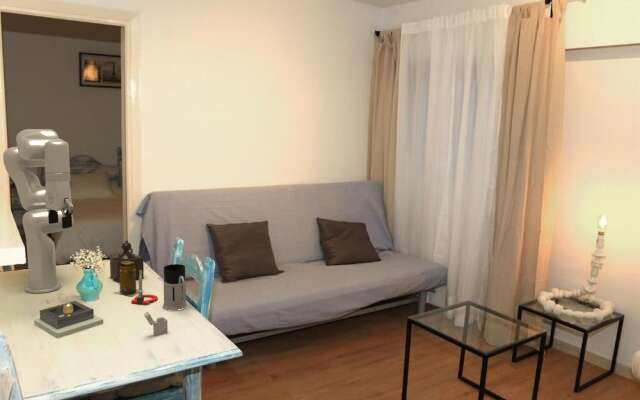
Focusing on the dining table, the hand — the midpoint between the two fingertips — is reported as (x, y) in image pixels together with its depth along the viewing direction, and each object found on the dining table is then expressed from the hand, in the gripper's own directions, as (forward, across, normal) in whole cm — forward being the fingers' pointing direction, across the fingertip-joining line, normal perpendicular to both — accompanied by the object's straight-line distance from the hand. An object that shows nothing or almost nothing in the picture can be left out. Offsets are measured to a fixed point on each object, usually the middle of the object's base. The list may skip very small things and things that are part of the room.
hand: (60, 225), depth 177 cm
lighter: (+30, +43, +8) cm, 53 cm away
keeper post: (+28, +15, -6) cm, 33 cm away
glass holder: (+30, +31, +26) cm, 50 cm away
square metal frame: (+28, +14, -6) cm, 32 cm away
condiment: (+30, +3, +24) cm, 39 cm away
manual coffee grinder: (+31, -10, +32) cm, 45 cm away
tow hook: (+30, +15, +23) cm, 41 cm away
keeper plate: (+30, +15, -6) cm, 34 cm away
